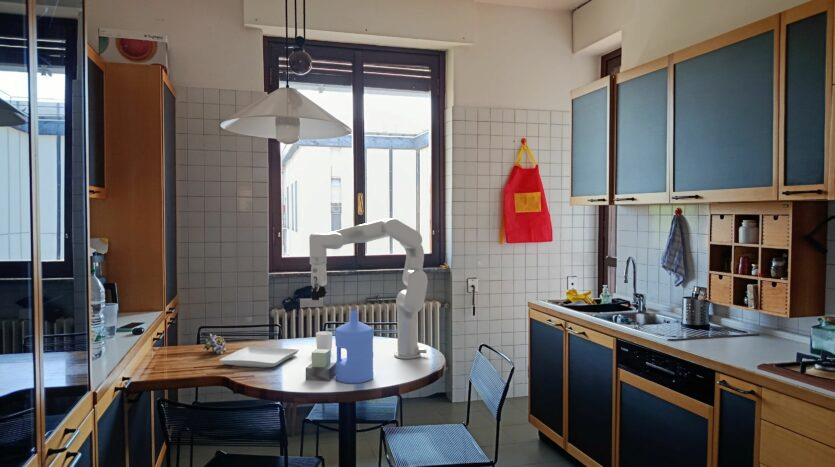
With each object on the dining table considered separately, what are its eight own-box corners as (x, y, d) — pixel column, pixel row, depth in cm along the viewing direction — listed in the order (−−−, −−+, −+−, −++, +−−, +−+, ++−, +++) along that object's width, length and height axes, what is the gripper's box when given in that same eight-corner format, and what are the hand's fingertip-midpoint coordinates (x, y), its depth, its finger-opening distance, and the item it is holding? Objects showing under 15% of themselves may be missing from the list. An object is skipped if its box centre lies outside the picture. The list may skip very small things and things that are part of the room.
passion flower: (220, 365, 285) (218, 348, 278) (199, 360, 286) (196, 344, 278) (230, 347, 294) (228, 331, 287) (209, 343, 295) (207, 327, 287)
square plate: (275, 371, 256) (275, 362, 256) (217, 367, 262) (217, 359, 262) (299, 356, 283) (299, 347, 283) (247, 353, 288) (247, 345, 288)
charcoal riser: (336, 374, 250) (336, 362, 249) (329, 381, 240) (329, 368, 240) (313, 373, 251) (313, 361, 251) (305, 380, 241) (305, 368, 241)
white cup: (334, 351, 290) (334, 331, 290) (330, 355, 282) (330, 334, 282) (318, 351, 291) (318, 331, 290) (314, 355, 283) (314, 334, 283)
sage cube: (330, 363, 248) (330, 349, 248) (325, 367, 242) (325, 353, 242) (316, 363, 249) (316, 349, 248) (311, 366, 243) (311, 352, 243)
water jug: (374, 373, 251) (373, 308, 250) (372, 384, 236) (372, 314, 235) (337, 373, 251) (337, 308, 250) (333, 384, 235) (332, 314, 234)
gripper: (320, 262, 256) (321, 301, 257) (331, 259, 273) (331, 295, 274) (304, 262, 257) (304, 301, 258) (315, 259, 274) (316, 295, 275)
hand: (318, 298), depth 266 cm, fingers open, 9 cm apart
